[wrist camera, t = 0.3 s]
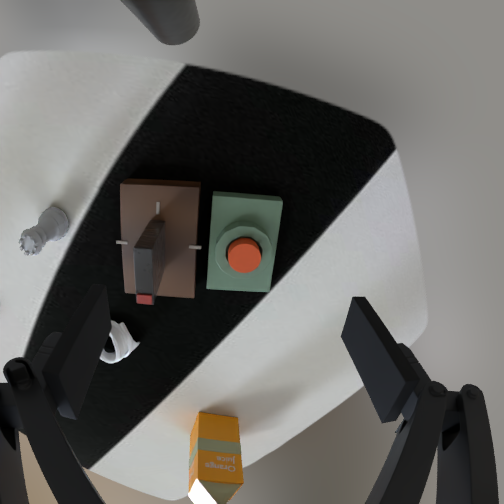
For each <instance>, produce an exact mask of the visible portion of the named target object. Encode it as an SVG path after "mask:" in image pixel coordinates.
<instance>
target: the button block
mask: <svg viewBox="0 0 504 504" xmlns="http://www.w3.org/2000/svg"><path fill="white" fill-rule="evenodd" d="M282 205H283V201H282V199H281V198H280V197H278V196H267V195H256V194H244V193H232V192H219V191H213V198H212V211H211V225H210V240H209V256H208V273H207V289H220V290H238V291H258V292H269V291H270V285H271V278H272V272H273V265H274V259H275V252H276V246H277V239H278V232H279V226H280V219H281V212H282ZM239 238H249V239H252V240H253V241H255V242H256V243H257V245H258V247H259V250H260V254H261V262H260V264H259V266H258V267H257V268H256V269H255V270H253V271H251V272H248V273H240V272H237V271H235V270H234V269H233V268H232V267H231V266H230V264H229V260H228V249H229V246H230V245H231V243H232V242H233V241H235V240H237V239H239Z"/></svg>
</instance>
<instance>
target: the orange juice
mask: <svg viewBox="0 0 504 504" xmlns="http://www.w3.org/2000/svg"><path fill="white" fill-rule="evenodd" d="M243 483H244V481H243V471H242V460H241V445H240V437H239V424H238V418H237V417H229V416H222V415H215V414H209V413H203V412H199V413H198V415H197V418H196V421H195V424H194V427H193V429H192V432H191V435H190V459H189V494H188V496H189V497H190V499H191V500H192V501H193V503H194V504H226V503H227V502H228V500H230V499H231V498H232V497H233V496H234V494H235V493H236V492H237V491H238V490H239V488H240V487H241V486H242V484H243Z"/></svg>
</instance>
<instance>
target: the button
mask: <svg viewBox="0 0 504 504" xmlns="http://www.w3.org/2000/svg"><path fill="white" fill-rule="evenodd" d="M228 260H229V264H230V266H231V267H232V268H233V269H234V270H235V271H237V272H240V273H248V272H251V271H253V270H255V269H256V268H257V267H258V266H259V264H260V262H261V254H260V250H259V247H258V245H257V243H256V242H255V241H253V240H252V239H249V238H239V239H237V240H235V241H233V242H232V243H231V245H230V246H229V249H228Z"/></svg>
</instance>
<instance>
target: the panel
mask: <svg viewBox="0 0 504 504" xmlns="http://www.w3.org/2000/svg"><path fill="white" fill-rule="evenodd" d="M200 190H201V182H193V181H176V180H155V179H126V180H125V181H124V182H122V183H121V184H120V209H121V240H122V241H118V240H117V241H116V244H122V258H123V273H124V285H125V293H134V294H136V289H135V273H134V254H133V248H134V246H135V244H136V243H137V241H138V239H139V238H140V236H141V234H142V233H143V231H144V229H145V228H146V226H147V224H148V223H149V221H150V220H162V221H166V222H165V270H164V273H163V276H162V280H161V283H160V286H159V289H158V292H157V295H158V296H172V297H186V298H194V295H195V287H196V263H197V249H201V246H197V241H198V222H199V205H200Z"/></svg>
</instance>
